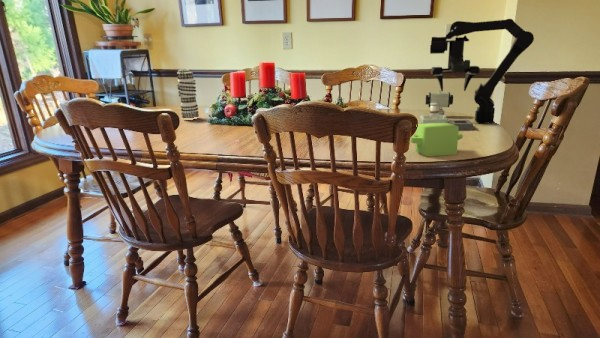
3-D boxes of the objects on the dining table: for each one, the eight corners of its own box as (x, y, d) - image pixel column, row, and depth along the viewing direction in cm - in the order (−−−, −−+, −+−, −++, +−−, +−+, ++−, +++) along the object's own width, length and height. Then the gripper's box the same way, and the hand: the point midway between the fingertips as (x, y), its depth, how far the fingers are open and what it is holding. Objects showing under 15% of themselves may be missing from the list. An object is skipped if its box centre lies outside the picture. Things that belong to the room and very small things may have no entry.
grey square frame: (468, 125, 169) (468, 119, 168) (472, 130, 162) (473, 123, 161) (448, 126, 170) (448, 120, 169) (452, 130, 163) (452, 124, 162)
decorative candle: (203, 118, 211) (197, 68, 203) (187, 121, 205) (181, 70, 197) (193, 116, 217) (187, 68, 210) (178, 119, 211) (171, 69, 203)
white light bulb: (437, 120, 178) (438, 102, 175) (439, 122, 174) (440, 103, 172) (428, 120, 178) (429, 102, 176) (429, 122, 175) (430, 104, 172)
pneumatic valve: (424, 115, 193) (426, 89, 189) (451, 115, 190) (452, 89, 186) (425, 117, 188) (426, 91, 184) (452, 118, 185) (454, 91, 181)
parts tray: (444, 120, 180) (444, 114, 179) (447, 125, 172) (448, 119, 171) (420, 121, 182) (420, 115, 181) (422, 125, 173) (422, 119, 172)
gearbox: (455, 147, 141) (457, 120, 138) (470, 154, 131) (472, 124, 129) (404, 150, 139) (405, 122, 137) (416, 157, 130) (417, 127, 127)
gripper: (435, 55, 164) (433, 94, 169) (484, 53, 161) (481, 93, 166) (431, 53, 175) (429, 90, 180) (477, 52, 172) (474, 89, 176)
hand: (453, 91), depth 175 cm, fingers open, 9 cm apart
